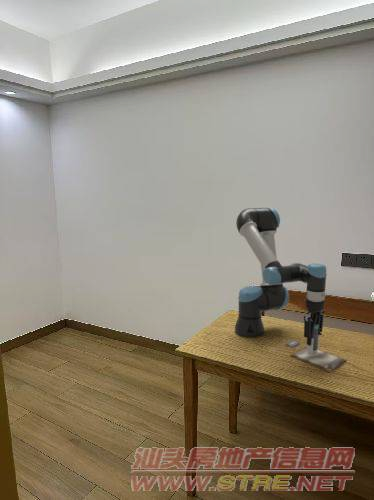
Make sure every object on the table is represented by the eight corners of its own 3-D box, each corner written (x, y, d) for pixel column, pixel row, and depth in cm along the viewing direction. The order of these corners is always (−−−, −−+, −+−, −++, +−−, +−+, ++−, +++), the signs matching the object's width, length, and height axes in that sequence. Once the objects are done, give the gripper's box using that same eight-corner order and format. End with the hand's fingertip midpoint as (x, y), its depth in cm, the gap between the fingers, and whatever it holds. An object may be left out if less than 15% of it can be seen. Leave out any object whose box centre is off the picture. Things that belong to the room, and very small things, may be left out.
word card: (285, 344, 158) (285, 343, 158) (292, 340, 162) (292, 339, 162) (292, 347, 155) (292, 346, 155) (299, 343, 159) (300, 342, 159)
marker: (305, 350, 149) (307, 324, 147) (310, 347, 152) (311, 322, 149) (314, 353, 146) (315, 327, 144) (318, 350, 148) (320, 324, 146)
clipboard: (290, 356, 147) (290, 352, 147) (307, 346, 156) (307, 343, 155) (329, 372, 133) (330, 368, 133) (346, 361, 142) (346, 357, 142)
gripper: (313, 305, 136) (309, 359, 140) (333, 297, 147) (329, 346, 151) (296, 301, 142) (294, 352, 146) (317, 293, 153) (314, 341, 157)
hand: (312, 349), depth 149 cm, fingers closed on marker, 4 cm apart
